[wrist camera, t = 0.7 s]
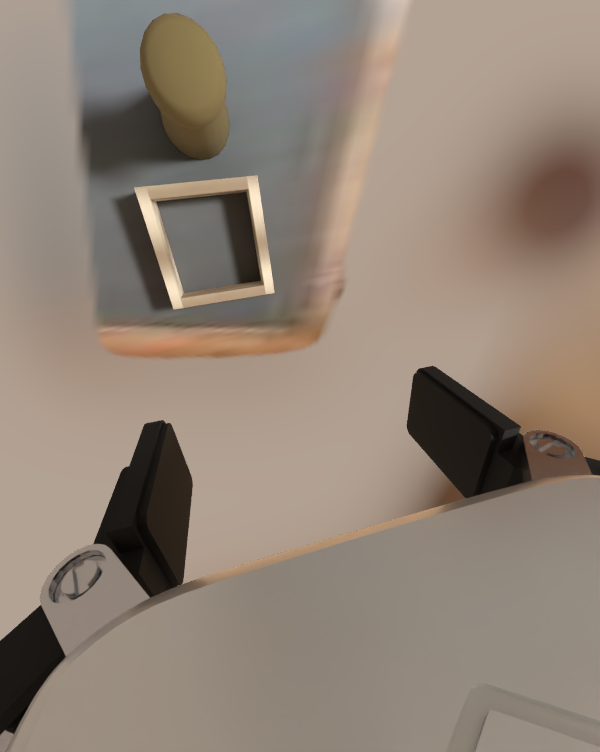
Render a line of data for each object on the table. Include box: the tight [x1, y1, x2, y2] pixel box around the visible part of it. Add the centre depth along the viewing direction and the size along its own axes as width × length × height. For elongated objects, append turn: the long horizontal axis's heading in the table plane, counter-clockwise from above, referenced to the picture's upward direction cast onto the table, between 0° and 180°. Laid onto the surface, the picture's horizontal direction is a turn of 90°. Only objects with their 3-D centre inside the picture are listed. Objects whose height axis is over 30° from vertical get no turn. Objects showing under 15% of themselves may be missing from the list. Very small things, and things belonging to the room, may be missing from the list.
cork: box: [140, 13, 230, 160], centre depth 22 cm, size 6×6×11 cm
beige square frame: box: [134, 176, 275, 309], centre depth 31 cm, size 11×11×3 cm
